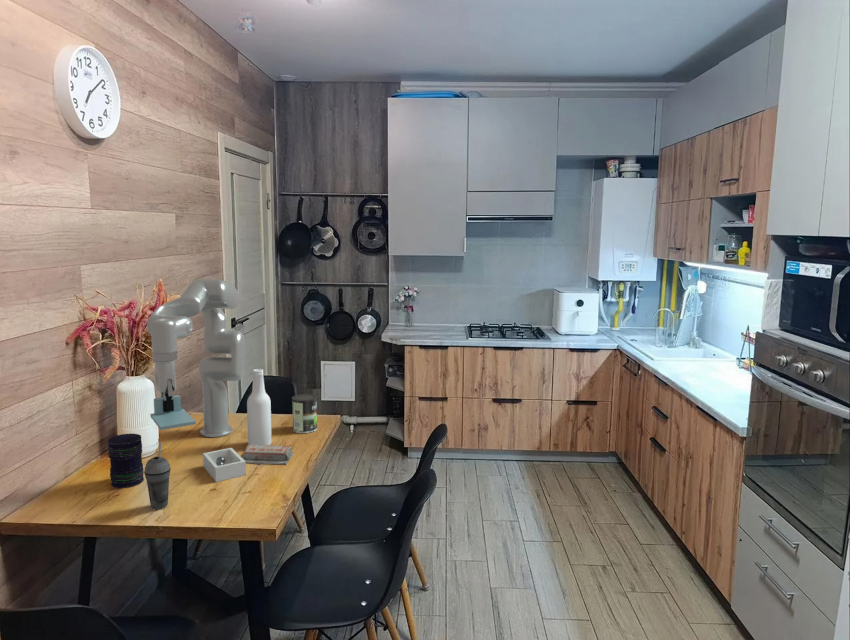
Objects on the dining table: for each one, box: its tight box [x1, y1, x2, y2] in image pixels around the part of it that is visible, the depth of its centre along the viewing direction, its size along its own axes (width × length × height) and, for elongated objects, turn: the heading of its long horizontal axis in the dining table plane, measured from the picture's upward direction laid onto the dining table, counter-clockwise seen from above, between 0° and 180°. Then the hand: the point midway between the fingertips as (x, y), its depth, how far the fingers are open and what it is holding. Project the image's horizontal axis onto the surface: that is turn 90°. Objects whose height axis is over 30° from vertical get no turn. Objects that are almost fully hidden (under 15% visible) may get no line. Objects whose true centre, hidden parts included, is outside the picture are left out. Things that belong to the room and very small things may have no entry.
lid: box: [149, 394, 197, 431], centre depth 188 cm, size 15×10×6 cm
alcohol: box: [246, 368, 272, 445], centre depth 224 cm, size 9×9×30 cm
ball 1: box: [216, 457, 225, 463], centre depth 204 cm, size 3×3×3 cm
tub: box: [202, 447, 247, 483], centre depth 201 cm, size 15×10×5 cm, turn 36°
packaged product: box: [240, 444, 294, 466], centre depth 213 cm, size 18×5×10 cm
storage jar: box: [107, 433, 145, 489], centre depth 190 cm, size 10×10×15 cm
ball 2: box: [216, 461, 224, 466], centre depth 200 cm, size 3×3×3 cm
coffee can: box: [291, 393, 318, 434], centre depth 244 cm, size 10×10×14 cm
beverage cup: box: [143, 442, 172, 511], centre depth 174 cm, size 7×7×20 cm
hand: (167, 410), depth 194 cm, fingers closed on lid
